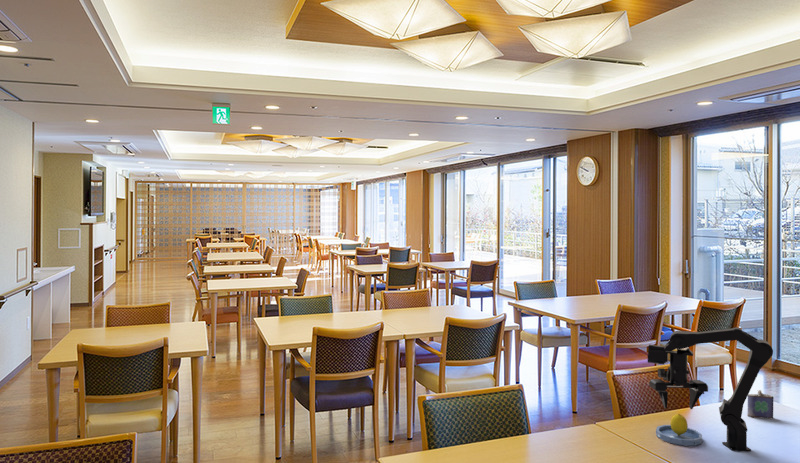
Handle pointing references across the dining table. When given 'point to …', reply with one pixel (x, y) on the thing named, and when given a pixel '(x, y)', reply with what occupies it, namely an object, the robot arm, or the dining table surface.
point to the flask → (760, 405)
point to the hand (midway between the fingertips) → (678, 408)
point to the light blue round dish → (685, 439)
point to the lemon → (679, 424)
